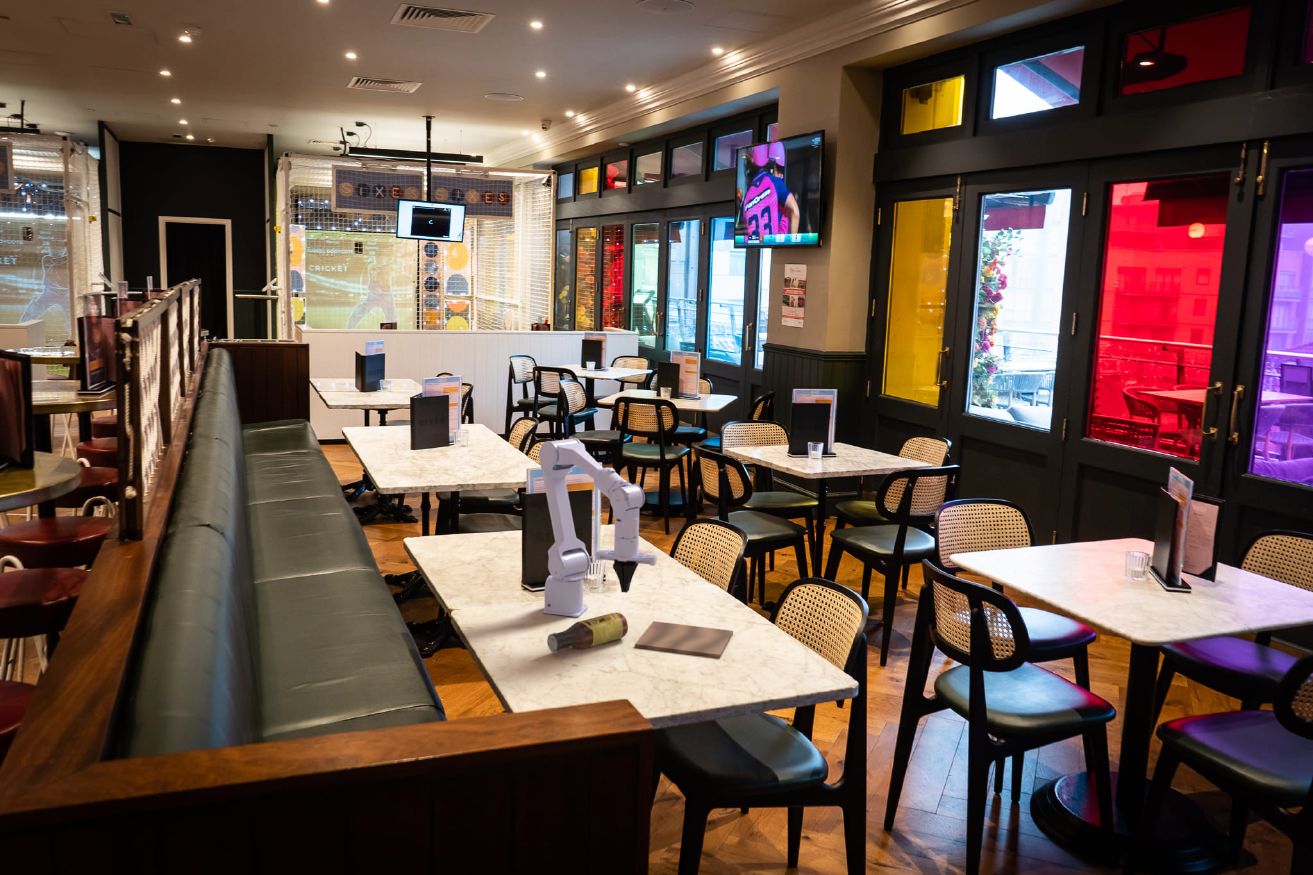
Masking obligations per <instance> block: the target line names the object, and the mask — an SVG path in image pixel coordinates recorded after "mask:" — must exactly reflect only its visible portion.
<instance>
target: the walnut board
mask: <svg viewBox="0 0 1313 875" xmlns="http://www.w3.org/2000/svg"><path fill="white" fill-rule="evenodd" d="M733 635H734V630H730V629H729V630H728V629H721V628H712V627H705V626H696V625H688V624H680V623H671V622H663V621H655V620H653V621H652V622H651V624H650V625H649V626H648V628H647V629H646V630H645V631H644V632H643V633H642V635H641V636H640V637H639V638H638V640H637V641H636V642H635V643H634V647H635V648H637V649H647V650H653V651H662V652H671V653H677V654H683V655H684V654H685V655H692V656H698V657H699V656H700V657H707V658H708V657H709V658H714V659H721V658H722V656H723V653H724V652H725V650H726V648H727V647H728V645H729V642H730V641H731V639H732V637H733Z"/></svg>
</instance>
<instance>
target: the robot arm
mask: <svg viewBox="0 0 1313 875" xmlns="http://www.w3.org/2000/svg"><path fill="white" fill-rule="evenodd" d="M538 458H539V462H540V464H539V465H540V469H541V473H542V478H543V482H544V488H545V489H544V490H545V494H546V499H547V505H548V511H549V515H550V520H551V527H552V531H553V537H554V543H553V544H552V545H551V546H550V548H549V549H548V551H547V554H548V562H547V563H548V564H547V568H548V572H549V573H550V575H548V576H547V578H546V581H545V584H544V606H543V607H544V608H543V612H542V613H544V614H550V615H557V616H566V617H575V618H579V617H580V616H581V615H582V614H583V613H584V612H585V611H586V610H587V609H588V608H589V605H586V604H585V605H584V578H585V577H586V576H587V573H588V571H589V570H590V568H591V562H592V561H591V557H590V555H589V553H588V551H587V549H586V548H587V547H586V544H585V543H584V542H583V541H581V540H580V539H579V538H577V535H576V531H575V524H574V520H573V515H572V507H571V503H570V499H569V498H570V497H569V491H568V487H567V486H568V485H567V483H566V481H567V480H566V476H567V475H568V473H569V472H570V471H571V470H572V469H573V468H575V467H576V468H578V469H580V471H582V472H583V473H585V474H586V475H588V476H589V477H590V478H592V479H593V485H594V487H596V489H597V490H599V491H600V492H601V493H602V494H603V495H604V496H606V498H608V500H609V503H610V505H611V508H612V516H613V518H614V542H613V543H614V544H613V547H614V548H613V550H612V549H609V550H605V549H604V550H603V549H598V550H597V551H596V552H595V561H602V560H603V561H605V560H606V561H613V564H612V569H613V570H614V572H615V573H616V576H617V578H618V582H619V585H620V586H619V587H620V591H621V592H620V593H628V592H629V591H630V588H631V583H632V580H633V577H634V574H635V572H636V570H637V567H638V566H639V564H641V565H642V564H643V565H649V566H651V567H653V566H656V565H657V558H658V556H657V555H654V554H648V553H643V552H639V540H640V539H639V538H640V537H639V536H640V531H639V530H640V509H641V508H642V507H643V506H644V504H645V501H646V495H645V492H644V490H643V489H642V487H641V486H640V485H639V484H637V483H631V482H628V480H626V479H624V478H623V477H622V476H621V475H619V474H618V473H617V472H616V470H615V469H614V468H613V467H603V466H602V465H601V464H600V463H599V462H598V461H596V459H595V458H594V457H593V456H591V454H590V453H589V452H588V451H586V446H585V444H584V443H583V442H581V441H580V439H578V438H576V437H571V438H567V439H560V440H551V441H550V440H548V441H544V442H543V443H542V445H541V447H540V448H539V451H538Z"/></svg>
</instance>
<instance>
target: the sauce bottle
mask: <svg viewBox="0 0 1313 875" xmlns="http://www.w3.org/2000/svg"><path fill="white" fill-rule="evenodd" d="M628 631H629V625H628V621H627V618H626V616H624V614H622V613H621V612H612V613H607V614H603V615H599V616H594V617H591V618H587V619H584V620H579V621H576V622H575V623H573V624H572V625H571V626H570V627H568V628H567V629H565V630H562V631H561V632H553V633H549V635H548V636H547V639H546V640H547V641H546V643H547V646H548V649H549V650H550V651H551V652H552V653H553V652H554V653H556V652H559V651H561V650H563V649H568V648H572V649H575V650H583V649H586V648H591V647H596V646H598V645H602V644H605V643H609V642H612V641H617V640H619V639H622V638H624V637H626V635H627V633H628Z"/></svg>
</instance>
